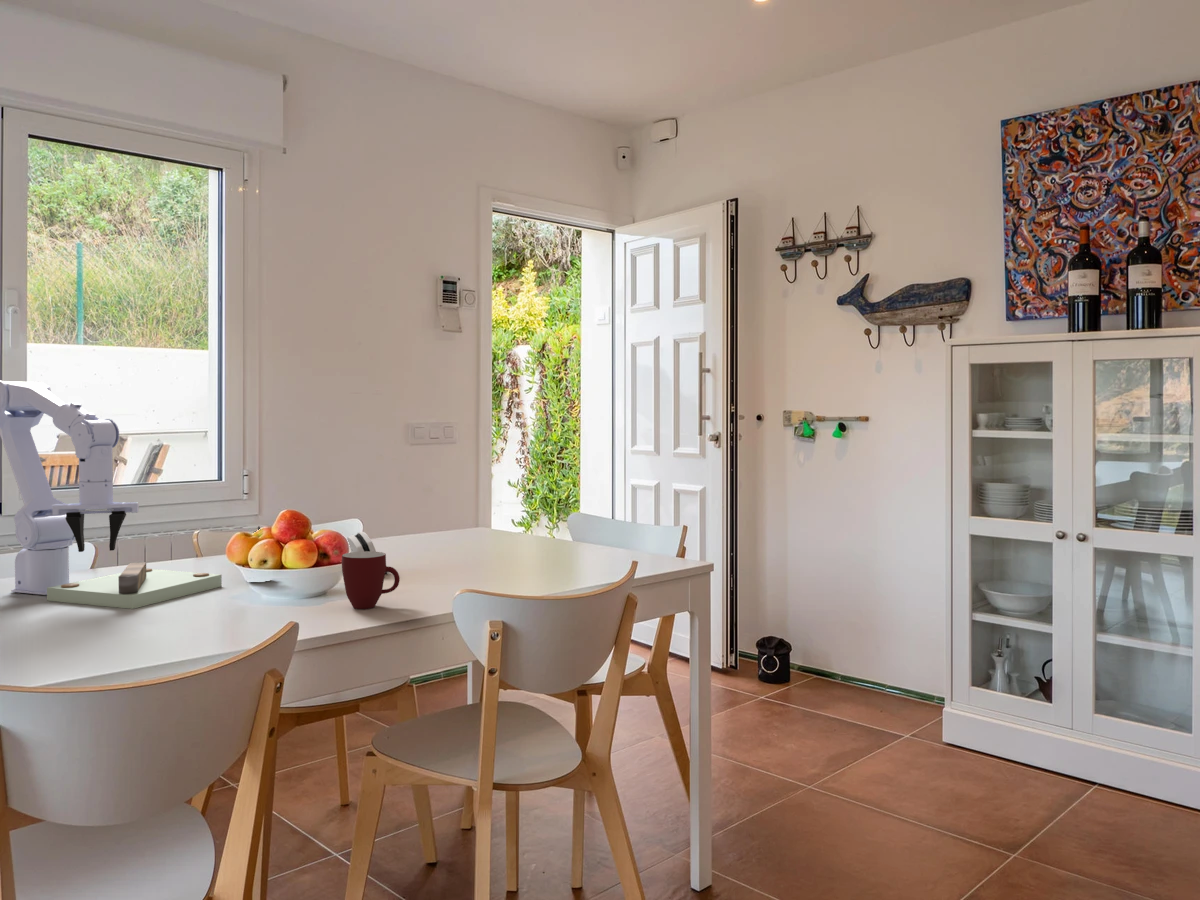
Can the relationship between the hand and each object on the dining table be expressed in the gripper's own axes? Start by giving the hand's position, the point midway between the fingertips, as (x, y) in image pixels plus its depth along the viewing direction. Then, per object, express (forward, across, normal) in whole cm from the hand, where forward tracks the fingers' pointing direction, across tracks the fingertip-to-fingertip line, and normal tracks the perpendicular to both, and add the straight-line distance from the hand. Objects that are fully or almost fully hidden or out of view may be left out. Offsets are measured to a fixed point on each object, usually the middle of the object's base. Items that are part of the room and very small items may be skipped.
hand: (97, 550), depth 171 cm
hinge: (+10, +53, +16) cm, 56 cm away
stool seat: (+9, +7, +3) cm, 12 cm away
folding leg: (+7, +6, -3) cm, 10 cm away
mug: (+10, +49, -25) cm, 56 cm away
